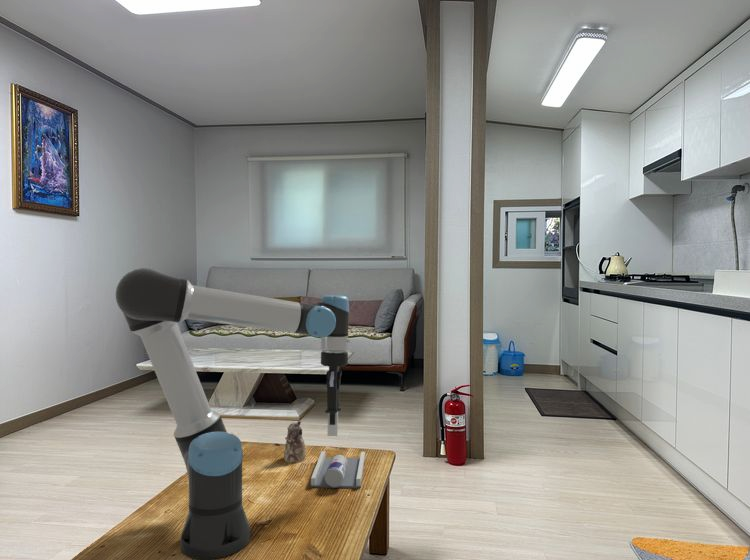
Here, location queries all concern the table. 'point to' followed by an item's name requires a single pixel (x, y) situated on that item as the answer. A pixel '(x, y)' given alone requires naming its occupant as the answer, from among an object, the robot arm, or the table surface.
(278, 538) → the table surface
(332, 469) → the energy drink
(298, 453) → the figurine
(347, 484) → the tray
